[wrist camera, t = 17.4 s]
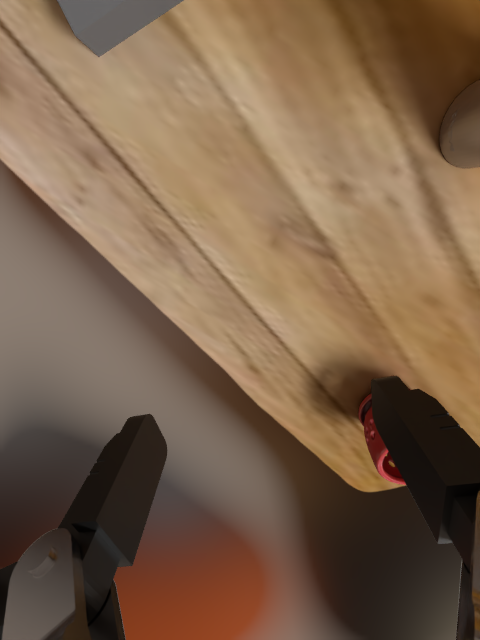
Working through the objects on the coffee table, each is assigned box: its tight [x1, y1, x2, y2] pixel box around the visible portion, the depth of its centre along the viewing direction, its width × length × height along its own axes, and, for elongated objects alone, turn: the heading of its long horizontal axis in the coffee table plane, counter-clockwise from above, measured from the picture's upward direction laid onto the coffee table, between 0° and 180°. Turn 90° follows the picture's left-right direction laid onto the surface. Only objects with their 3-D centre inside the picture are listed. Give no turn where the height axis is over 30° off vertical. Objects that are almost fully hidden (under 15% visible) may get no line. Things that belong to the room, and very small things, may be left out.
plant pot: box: [358, 389, 410, 485], centre depth 46 cm, size 13×13×12 cm
